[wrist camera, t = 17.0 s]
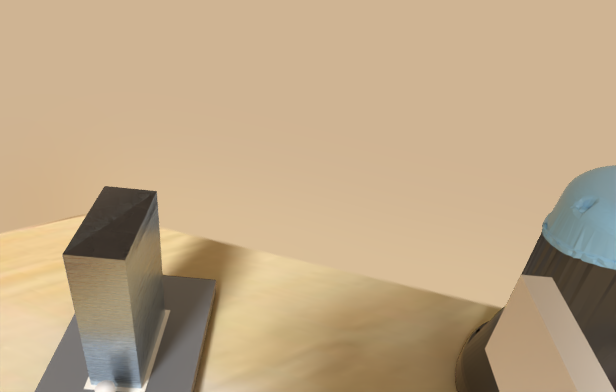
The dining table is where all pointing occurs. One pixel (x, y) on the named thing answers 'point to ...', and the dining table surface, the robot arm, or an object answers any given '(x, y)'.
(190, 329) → the slotted base plate
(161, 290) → the block
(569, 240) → the robot arm
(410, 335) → the dining table surface
